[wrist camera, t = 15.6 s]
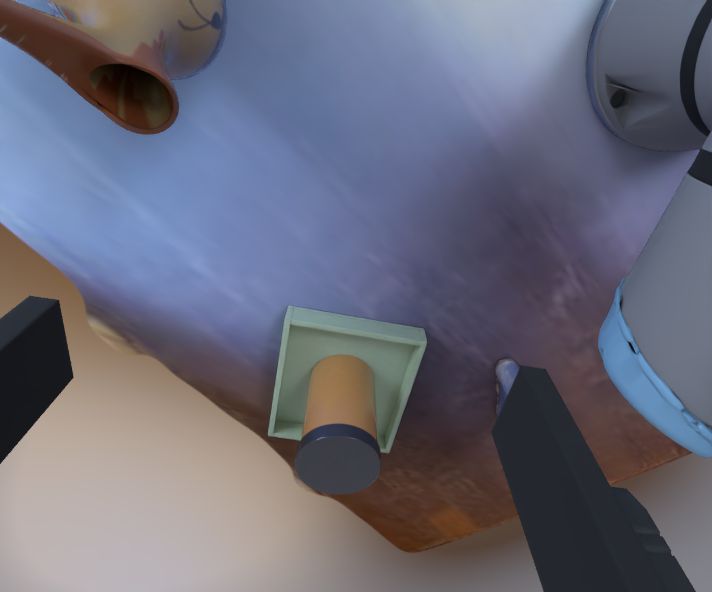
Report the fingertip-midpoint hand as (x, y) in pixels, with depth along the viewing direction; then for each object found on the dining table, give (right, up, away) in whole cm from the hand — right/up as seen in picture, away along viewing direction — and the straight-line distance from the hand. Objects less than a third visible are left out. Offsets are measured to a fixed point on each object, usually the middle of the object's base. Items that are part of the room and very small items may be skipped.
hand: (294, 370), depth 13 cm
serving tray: (0, -7, +37) cm, 37 cm away
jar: (0, -7, +36) cm, 37 cm away
